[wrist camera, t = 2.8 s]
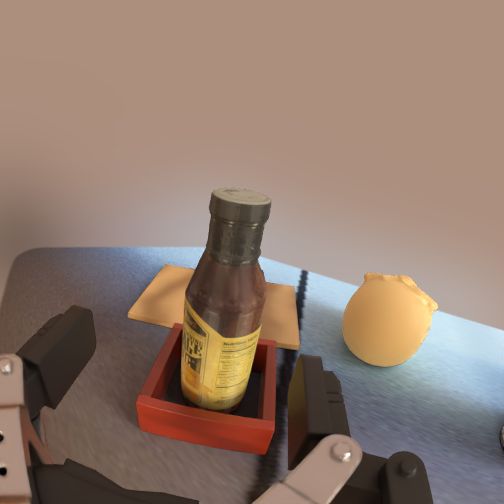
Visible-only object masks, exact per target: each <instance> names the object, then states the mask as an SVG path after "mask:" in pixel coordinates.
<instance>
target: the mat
mask: <svg viewBox="0 0 504 504" xmlns="http://www.w3.org/2000/svg"><path fill="white" fill-rule="evenodd" d="M194 271H195V270H194V269H189V268H183V267H178V266H173V265H167V264H165V266H164V267H163V268H162V269H161V271H160V272H159V273H158V274H157V276H156V277H155V278H154V280H153V281H152V282H151V283H150V285H149V286H148V287H147V289H146V290H145V291H144V292H143V294H142V295H141V296H140V298H139V299H138V300H137V302H136V303H135V304H134V305H133V307H132V308H131V309H130V311H129V312H128V318H131V319H135V320H139V321H143V322H148V323H152V324H156V325H161V326H165V327H170V328H172V327H173V325H174V323H180V324H183V319H184V301H185V291H186V288H187V286H188V284H189V282H190V280H191V277H192V275H193V273H194ZM266 286H267V296H266V301H265V304H264V309H263V314H262V325H261V329H260V334H259V338H262V339H268V340H274V341H277V346H276V347H279V348H286V349H294V350H299V347H300V342H299V331H298V320H297V309H296V299H295V289H294V287H293V286H287V285H281V284H275V283H269V282H266Z"/></svg>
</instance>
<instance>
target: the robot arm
mask: <svg viewBox="0 0 504 504" xmlns="http://www.w3.org/2000/svg"><path fill="white" fill-rule="evenodd" d="M95 349H96V336H95V329H94V321H93V314H92V311H91V310H90V309H86V308H83V307H79V306H76V305H73V306H71V307H70V308H69V309H68V310H67V311H66V312H65V313H64V314H59V315H57V316H55V317H53V318H51V319H50V320H49V321H48V322H46V323H45V324H44V325H43V328H40V329H39V330H38V331H37V334H34V335H33V336H32V337H31V338H30V339H29V340H28V341H27V342H26V344H25V345H24V346H23V347H22V348H21V349H20V350H19V351H18V352H17V353H16V354H12V353H4V354H1V355H0V504H199V501H198V500H193V499H188V498H184V497H179V496H175V495H171V494H167V493H162V492H147V491H135V490H127V489H124V488H122V487H121V486H119V485H117V484H116V483H114V482H113V481H111V480H110V479H108V478H106V477H105V476H103V475H102V474H100V473H99V472H97V471H96V470H94V469H91V468H89V467H86V466H84V465H82V464H79V463H77V462H75V461H72V460H70V459H68V458H67V459H66V461H65V463H64V465H59V464H54V463H53V461H52V458H51V456H50V453H49V448H48V443H47V438H46V432H45V426H44V419H43V413H42V411H41V409H42V408H43V406H44V405H46V406H48V407H50V408H52V409H54V410H55V409H56V407H57V406H58V404H59V403H60V401H61V400H62V398H63V397H64V395H65V394H66V393H67V391H68V390H69V388H70V387H71V385H72V384H73V382H74V381H75V380H76V378H77V377H78V375H79V374H80V373H81V371H82V370H83V368H84V367H85V366H86V364H87V363H88V361H89V360H90V359H91V357H92V356H93V354H94V352H95ZM343 402H344V400H343V395H342V390H341V385H340V381H339V380H338V379H337V377H336V376H335V374H334V373H333V372H332V371H323V365H322V359H321V357H320V356H312V355H304V354H300V355H299V358H298V361H297V364H296V367H295V370H294V373H293V376H292V379H291V382H290V385H289V390H288V470H293V471H292V472H291V473H290V474H289V475H288V476H287V477H286V478H285V479H283V480H282V481H281V480H279V481H278V482H276V483H275V484H274V485H273V486H271V487H270V488H269V489H268V490H267V491H266V492H265V493H264V494H263V495H261V496H260V497H259V498H258V499H257V500H256V501H254V502H253V503H252V504H433V500H432V495H431V490H430V486H429V482H428V477H427V473H426V469H425V466H424V463H423V462H422V460H421V459H420V458H419V457H418V456H416V455H415V454H413V453H410V452H405V451H402V452H397V453H395V454H393V455H392V456H391V457H390V458H389V459H386V458H382V457H378V456H374V455H371V454H367V453H365V452H363V451H362V450H361V447H360V446H359V444H358V443H357V442H356V441H355V440H353V439H352V438H351V436H350V431H349V426H348V420H347V415H346V410H345V405H344V404H343ZM501 443H502V447H503V449H504V425H503V427H502V429H501Z"/></svg>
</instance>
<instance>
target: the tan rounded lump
mask: <svg viewBox="0 0 504 504" xmlns="http://www.w3.org/2000/svg"><path fill="white" fill-rule="evenodd" d="M364 278H365V281H364V283H363V285H362V286H361V287H360V288H359V289H358V290H357V291H356V292H355V293H354V295H353V296H352V297H351V299H350V301H349V302H348V304H347V306H346V309H345V312H344V315H343V321H342V332H343V337H344V340H345V343H346V345H347V346H348V348H349V349H350V350H351V352H352V353H353V354H354V355H356V356H357V357H358V358H359V359H361V360H363V361H364V362H366V363H369V364H372V365H376V366H383V367H389V366H396V365H399V364H401V363H403V362H405V361H406V360H408V359H409V358H410V357H411V356H413V355H414V353H415V352H416V351H417V350H418V349H419V347H420V346H421V344H422V342H423V340H424V339H425V337H426V335H427V333H428V331H429V328H430V324H431V318H432V313H433V312H435V311H436V310H437V309H438V305H437V304H436V303H435V302H434V301H433V300H432V299H431V298H430V297H429V296H428V295H427V294H426V293H424V292H423V291H421V290H420V289H419V288H418V286H416V283H415V282H414V281H413V280H412V279H410V278H409V277H407V276H403V275H398V276H394V275H391V276H388V275H385V274H377V273H366V274H365V276H364Z"/></svg>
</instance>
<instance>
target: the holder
mask: <svg viewBox="0 0 504 504" xmlns="http://www.w3.org/2000/svg"><path fill="white" fill-rule="evenodd" d="M182 335H183V324H180V323H174V325H173V327H172V329H171V331H170V333H169V335H168V337H167V339H166V341H165V343H164V345H163V347H162V349H161V351H160V353H159V355H158V357H157V359H156V361H155V363H154V365H153V367H152V369H151V371H150V373H149V376H148V378H147V380H146V382H145V384H144V386H143V388H142V390H141V392H140V395H139V397H138V399H137V401H136V407H137V414H138V420H139V426H140V430H143V431H147V432H150V433H154V434H157V435H161V436H165V437H169V438H173V439H177V440H181V441H186V442H190V443H195V444H200V445H205V446H210V447H215V448H221V449H227V450H233V451H240V452H247V453H254V454H262V455H265V454H266V451H267V449H268V446H269V444H270V441H271V438H272V436H273V433H274V430H275V396H276V346H277V341H274V340H268V339H262V338H258V342H257V346H256V350H255V354H254V359H253V363H252V367H251V371H257V372H261V375H260V387H259V399H258V411H257V419H254V418H247V417H241V416H235V415H229V414H223V413H217V412H212V411H207V410H202V409H197V408H192V407H188V406H183V405H179V404H175V403H171V402H166V401H163V399H164V397H165V394H166V392H167V389H168V387H169V384H170V382H171V379H172V377H173V374H174V372H175V369H176V367H177V364H178V362H179V359H180V357H182Z"/></svg>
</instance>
